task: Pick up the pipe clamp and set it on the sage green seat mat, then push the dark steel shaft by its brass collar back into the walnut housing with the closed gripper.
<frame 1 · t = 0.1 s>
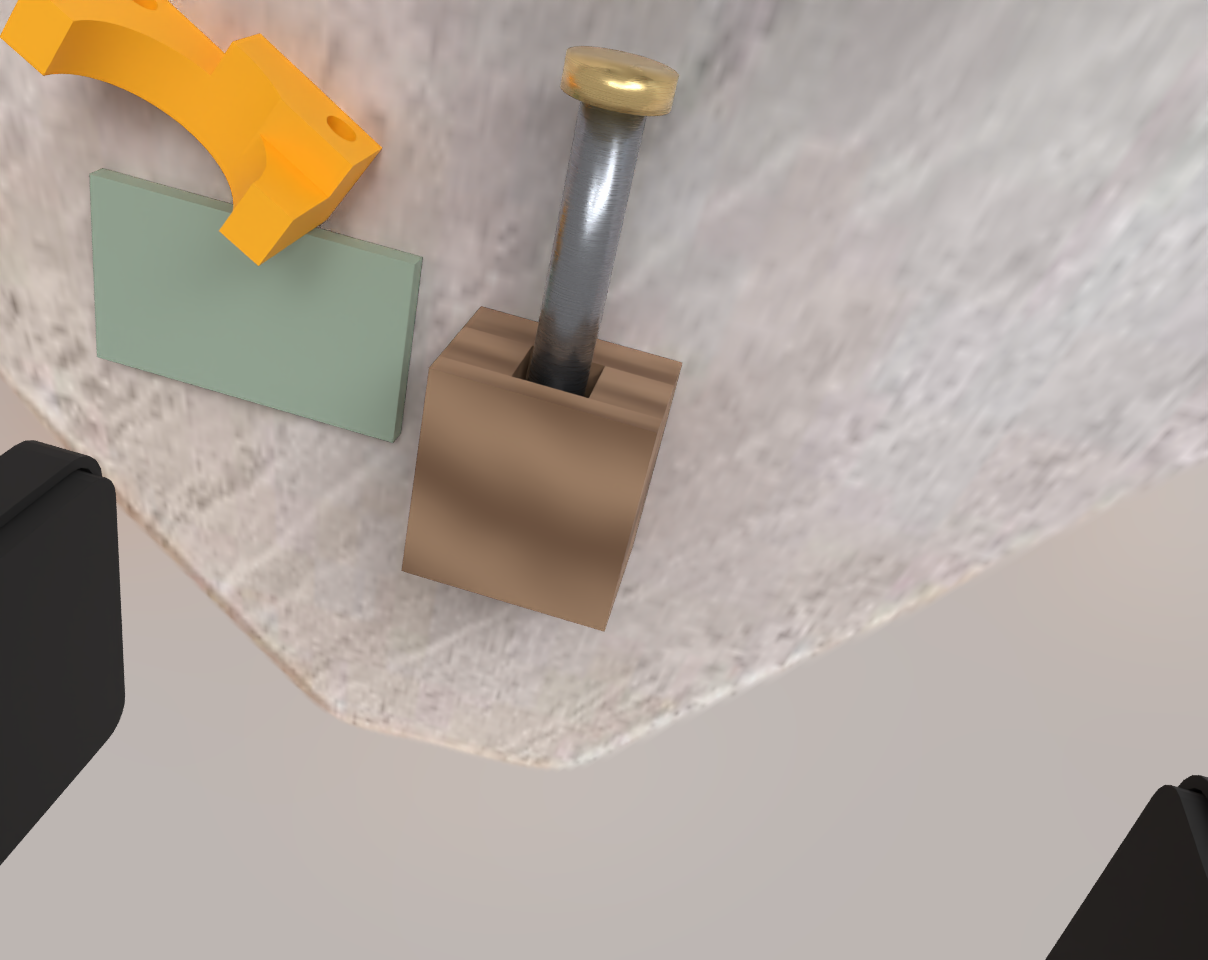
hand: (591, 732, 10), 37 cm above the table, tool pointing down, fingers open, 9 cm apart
pipe clamp: (246, 80, 46), on the table
shaft: (581, 265, 42), point 4 cm above the table, slide at 6.0 cm
shaft housing: (560, 431, 51), on the table
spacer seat: (257, 305, 51), on the table
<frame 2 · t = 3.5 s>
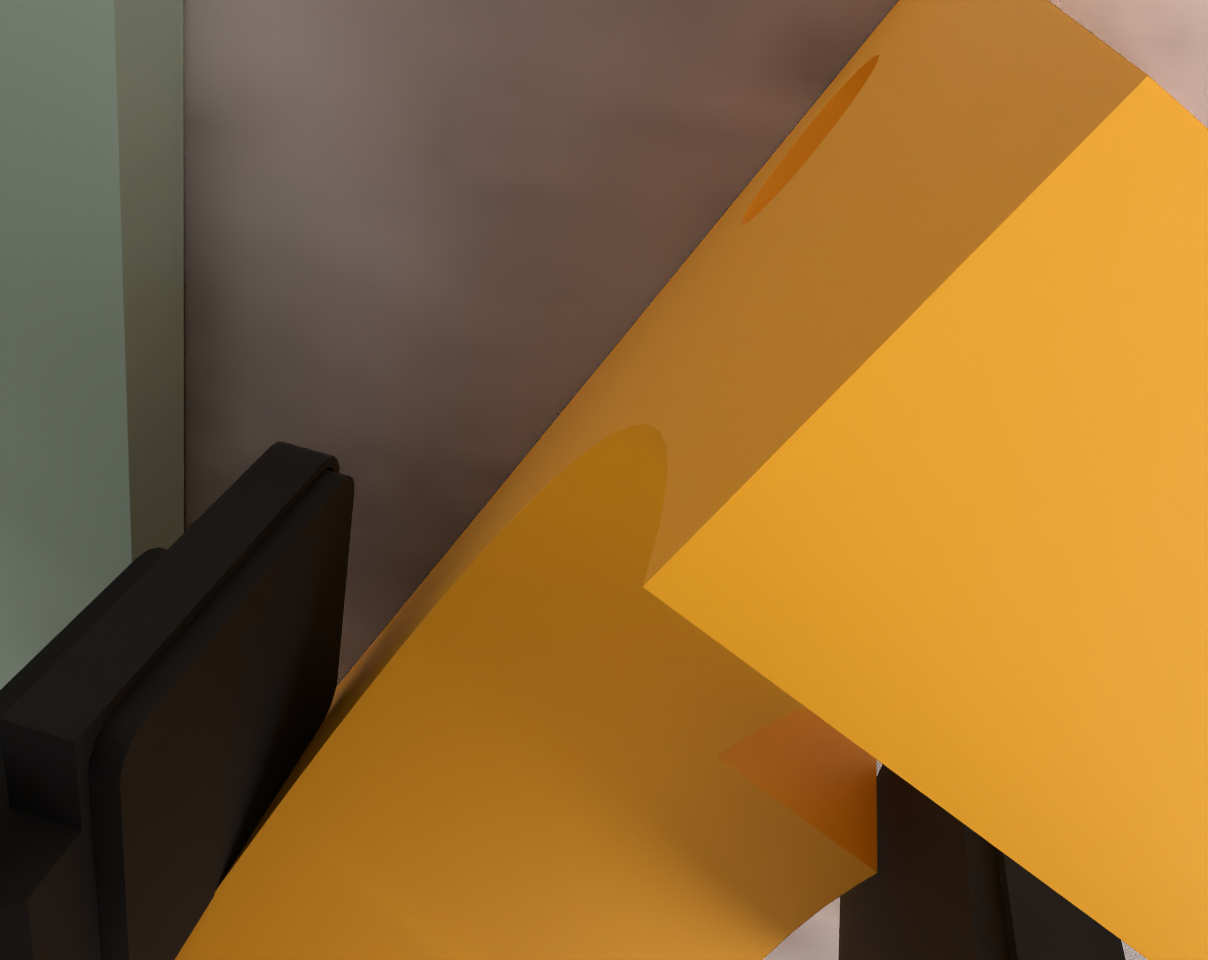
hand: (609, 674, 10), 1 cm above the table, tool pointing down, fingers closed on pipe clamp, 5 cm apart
pipe clamp: (687, 583, 12), on the table, touching gripper
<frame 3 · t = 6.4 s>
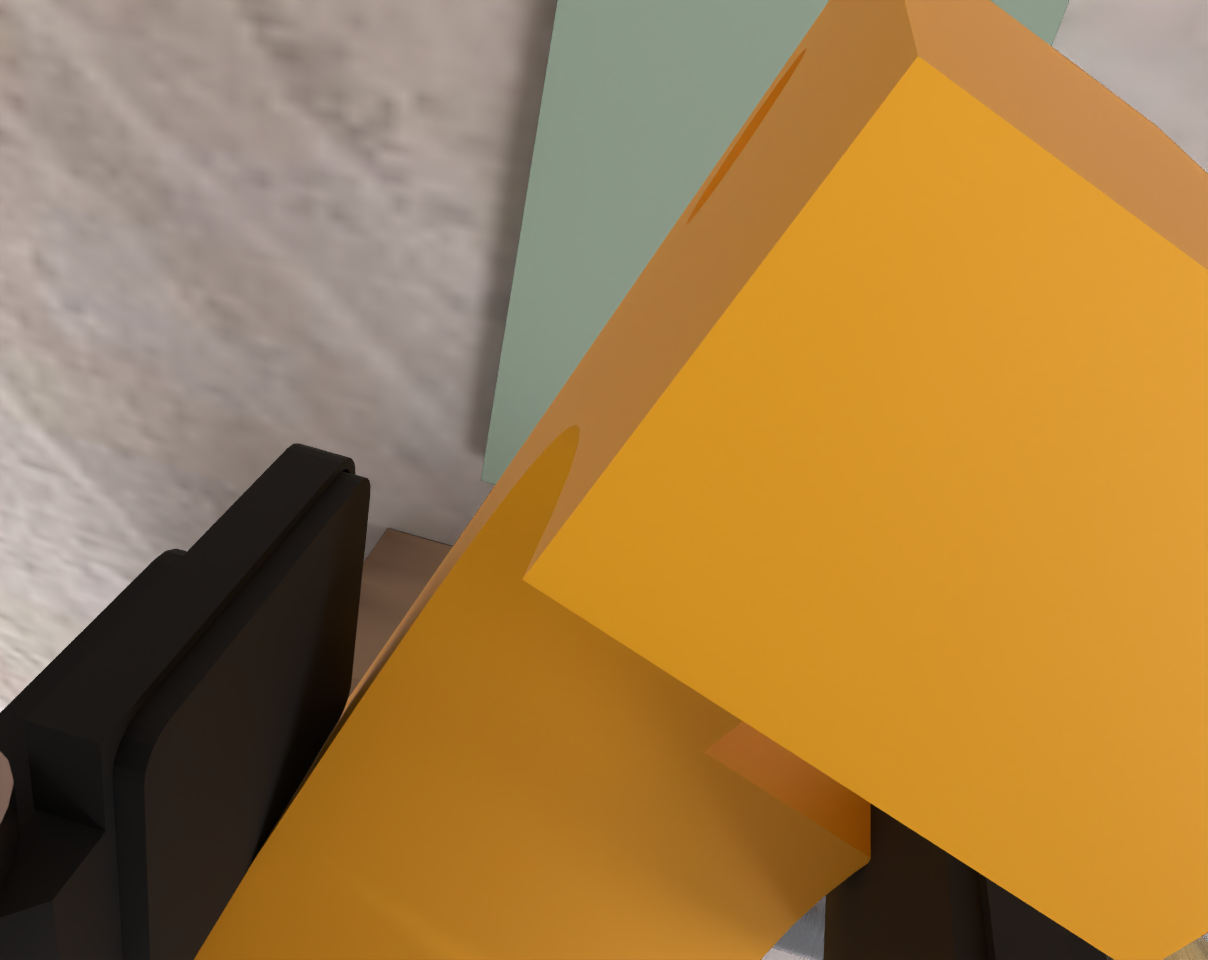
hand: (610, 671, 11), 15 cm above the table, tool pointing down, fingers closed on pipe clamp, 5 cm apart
pipe clamp: (678, 583, 12), point 14 cm above the table, touching gripper
shaft: (872, 924, 27), point 4 cm above the table, slide at 6.0 cm
shaft housing: (540, 707, 31), on the table
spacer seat: (744, 218, 23), on the table
when the fingers open (3 cm above the table, at t = 8.9 s): pipe clamp stays where it is, resting on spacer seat.
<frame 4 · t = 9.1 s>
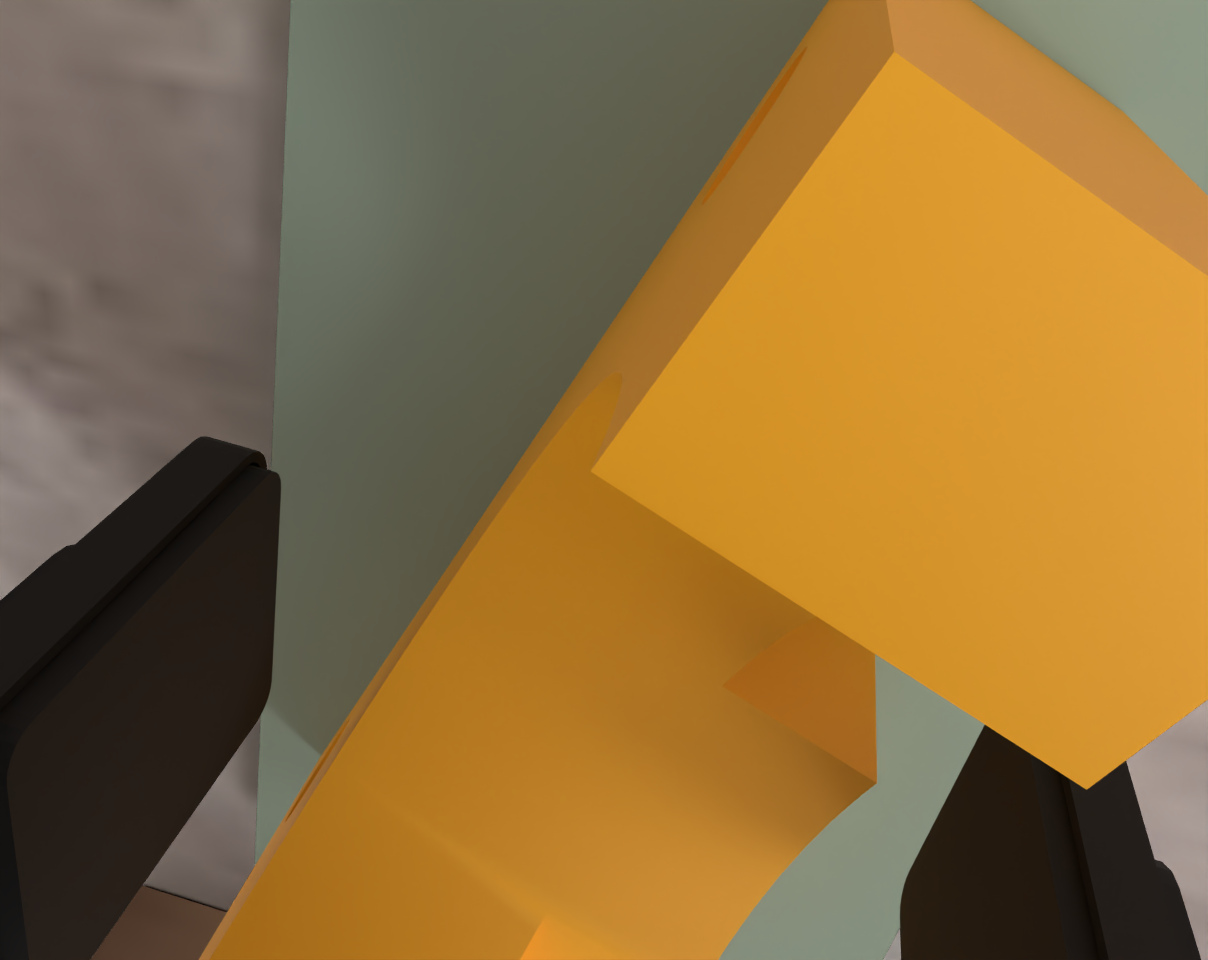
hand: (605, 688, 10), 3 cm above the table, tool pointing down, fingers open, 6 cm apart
pipe clamp: (693, 542, 13), point 1 cm above the table, touching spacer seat
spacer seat: (661, 501, 13), on the table
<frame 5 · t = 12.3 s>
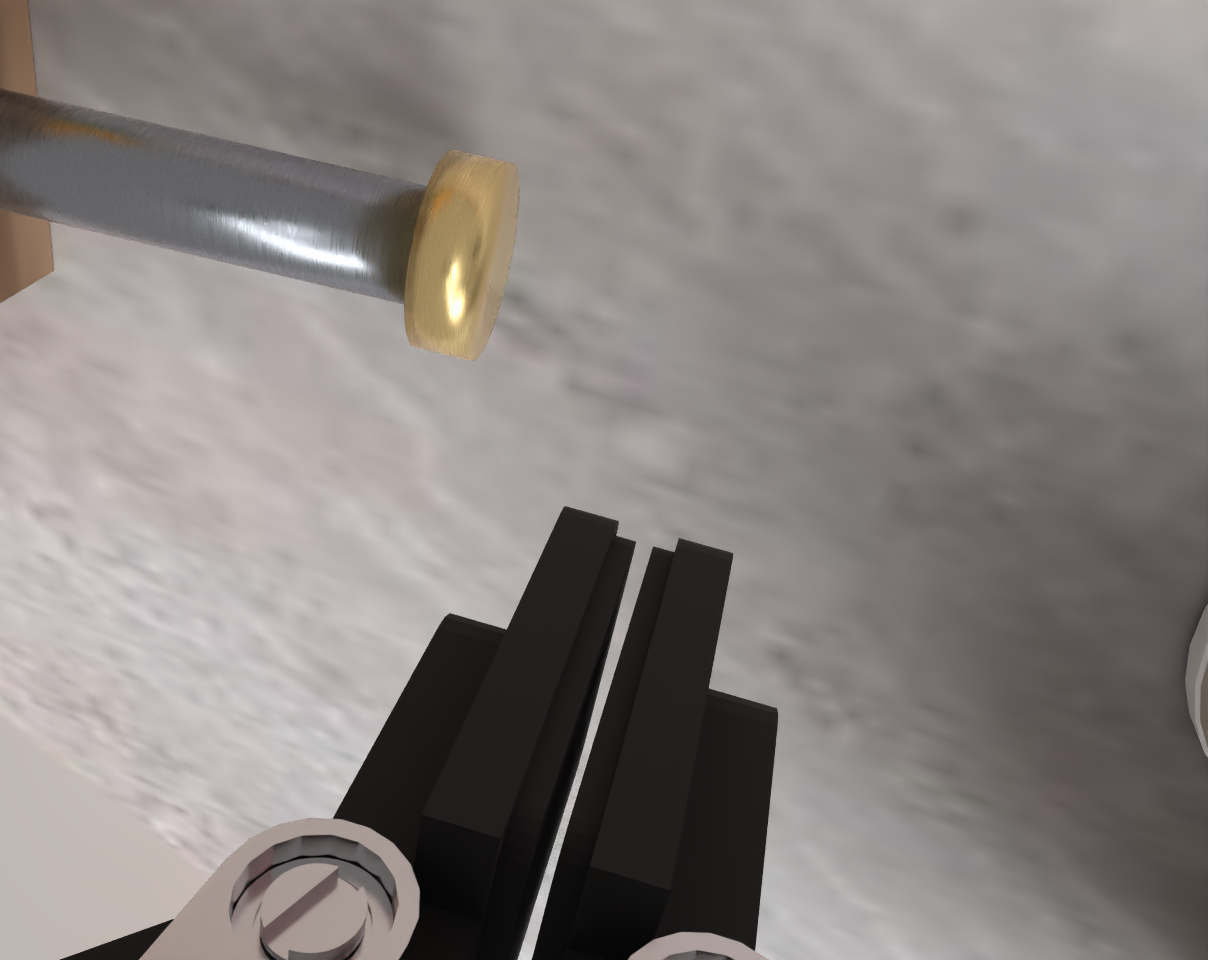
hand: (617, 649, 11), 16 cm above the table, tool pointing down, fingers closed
shaft: (134, 180, 23), point 4 cm above the table, slide at 6.0 cm
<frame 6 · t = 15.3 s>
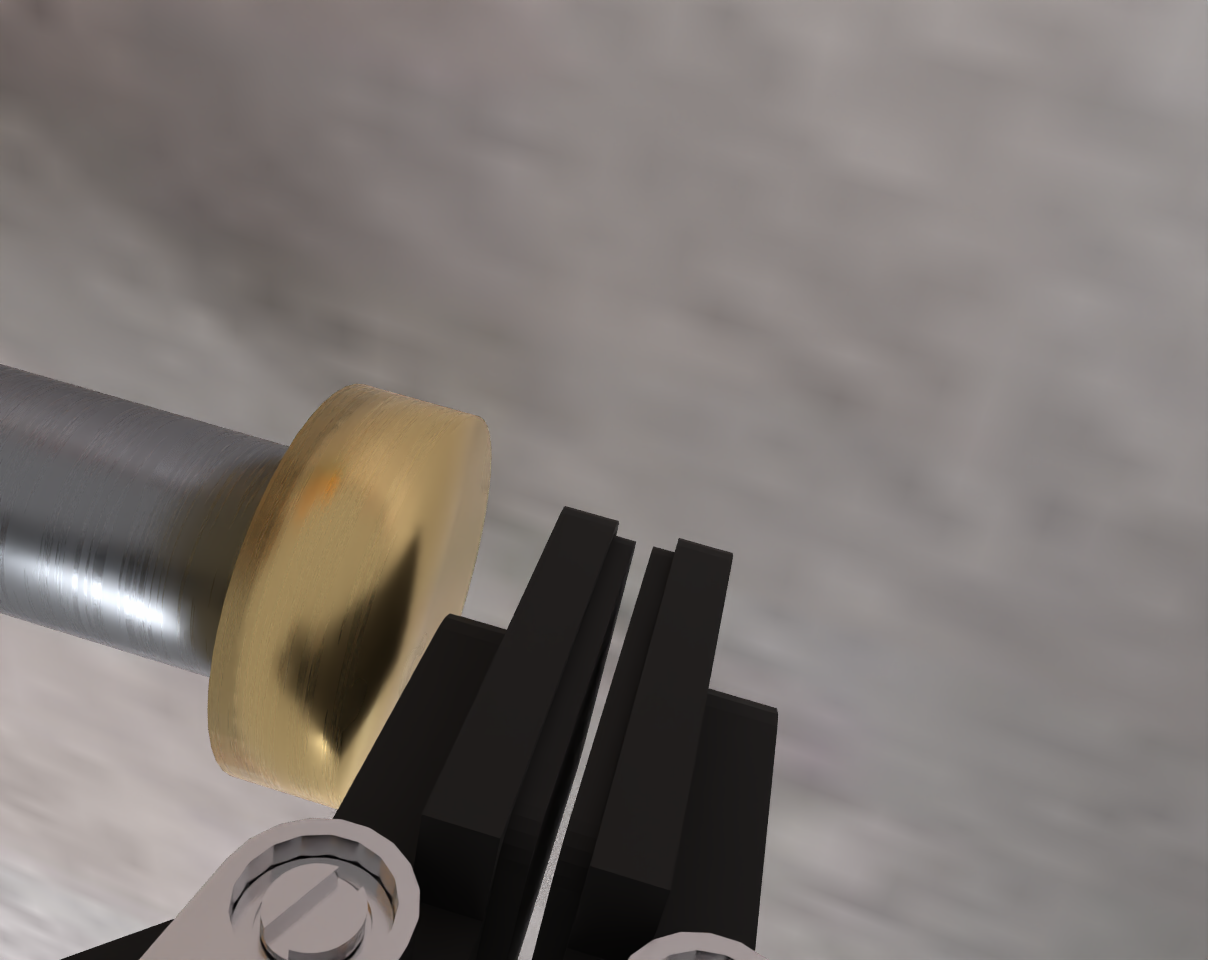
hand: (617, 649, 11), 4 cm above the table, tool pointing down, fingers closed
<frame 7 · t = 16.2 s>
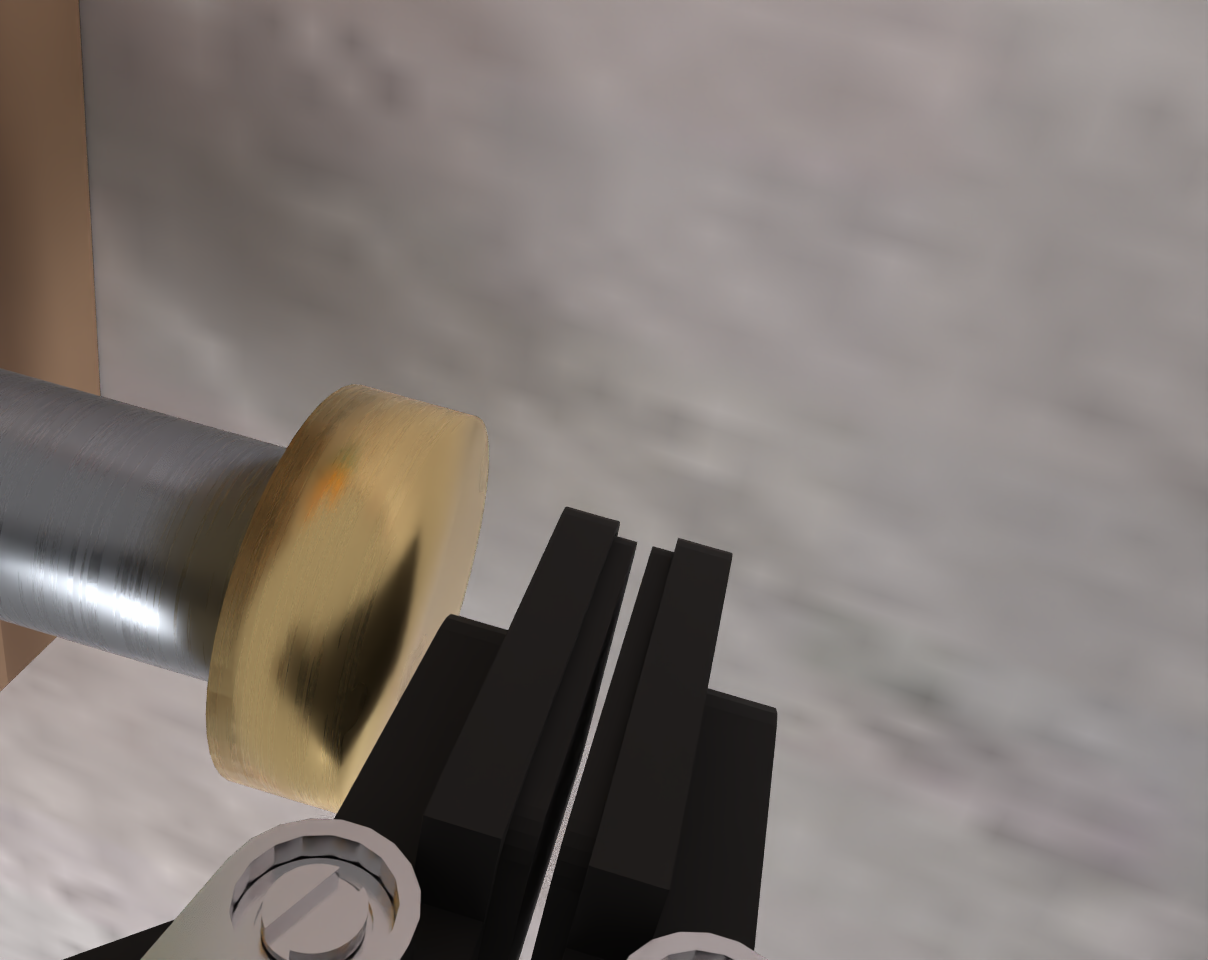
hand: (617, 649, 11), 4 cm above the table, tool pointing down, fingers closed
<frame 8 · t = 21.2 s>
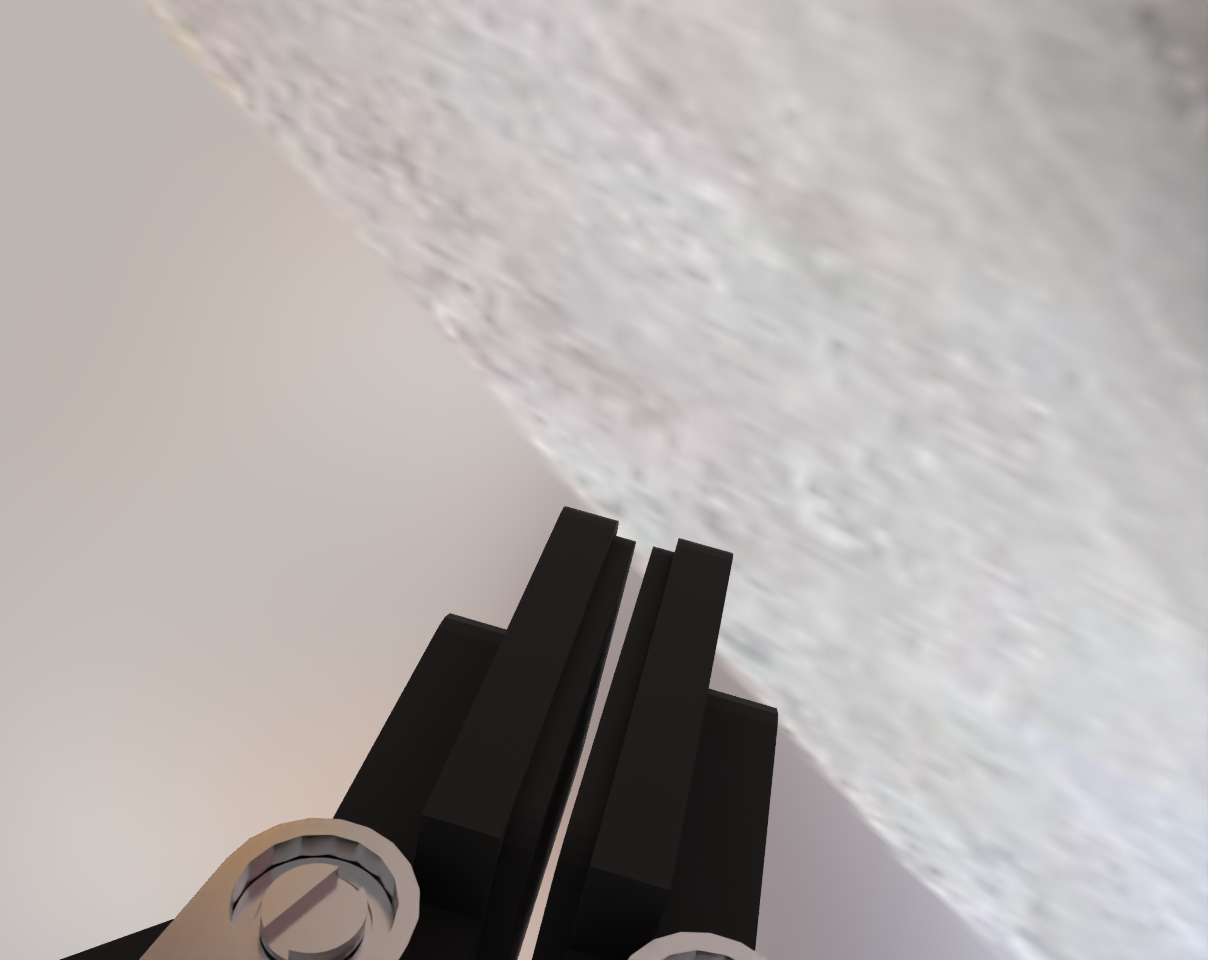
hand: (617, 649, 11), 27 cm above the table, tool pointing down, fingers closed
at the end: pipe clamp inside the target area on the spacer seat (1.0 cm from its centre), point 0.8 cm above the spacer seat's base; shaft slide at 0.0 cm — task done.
